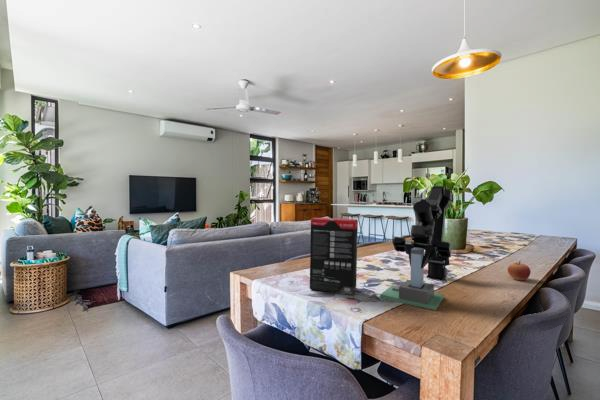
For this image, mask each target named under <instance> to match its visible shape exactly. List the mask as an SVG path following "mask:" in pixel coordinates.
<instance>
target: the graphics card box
mask: <svg viewBox="0 0 600 400" xmlns="http://www.w3.org/2000/svg"><path fill="white" fill-rule="evenodd" d="M358 224H359V219H356V218H355V219H354V218H353V219H351V218H338V217H337V218H334V217H333V218H332V217H311V218H310V250H309V251H310V252H309V253H310V256H309V258H310V259H309V290H314V291H320V290H321V292H327V291H328V292H330V293H334V294H335V293H336V294H342V295H349V296H354V294H355V293H356V290H357V270H358V269H357V268H358V267H357V266H358V264H357V263H358V226H359V225H358Z"/></svg>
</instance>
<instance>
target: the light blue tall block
mask: <svg viewBox="0 0 600 400" xmlns="http://www.w3.org/2000/svg"><path fill="white" fill-rule="evenodd" d="M424 254H425V250H424V248H415V247H414V248H412V249H411V267H410V280H411V283H410V286H413V287H418V288H421V287H422V286H423V282H424V276H425V275H424V273H425V272H424V270H425V267H424V268H423V269H422V268H421V264H422V260H423V257H424Z"/></svg>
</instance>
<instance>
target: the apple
mask: <svg viewBox="0 0 600 400" xmlns="http://www.w3.org/2000/svg"><path fill="white" fill-rule="evenodd" d="M507 266H508V267H507V273H508V275H509V276H510V277H511V278H512V279H514V280H516V281H526V280H528V279H529V278H530V275H531V273H532V272H531V269H530V267H529V266H528V265H527V264H524V263H521V260H519V262H511V263H510V264H509V265H507Z"/></svg>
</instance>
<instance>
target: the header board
mask: <svg viewBox="0 0 600 400" xmlns="http://www.w3.org/2000/svg"><path fill="white" fill-rule="evenodd" d="M410 283H411V279H407V280H405V281H403V283H402V284H401V285H396V284H395V285H394V284H391V285H390V286H389V287H388V288H387V289H385V290H384V291H382V293H380V294H379V298H380V299H385V300H388V301H392V302H397V303H402V304H405V305H409V306H410V305H411V306H415V307H419V308H422V309H423V308H424V309H428V310H432V311H437V309H438V308H439V306H440V304H441V303H442V302H443V300H444V296H445V295H444V294H441V293H435V284H434V283H433V284H432V283H428V282H425V281H423V286H422V287H421V288H418V287H413V286H410Z"/></svg>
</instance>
